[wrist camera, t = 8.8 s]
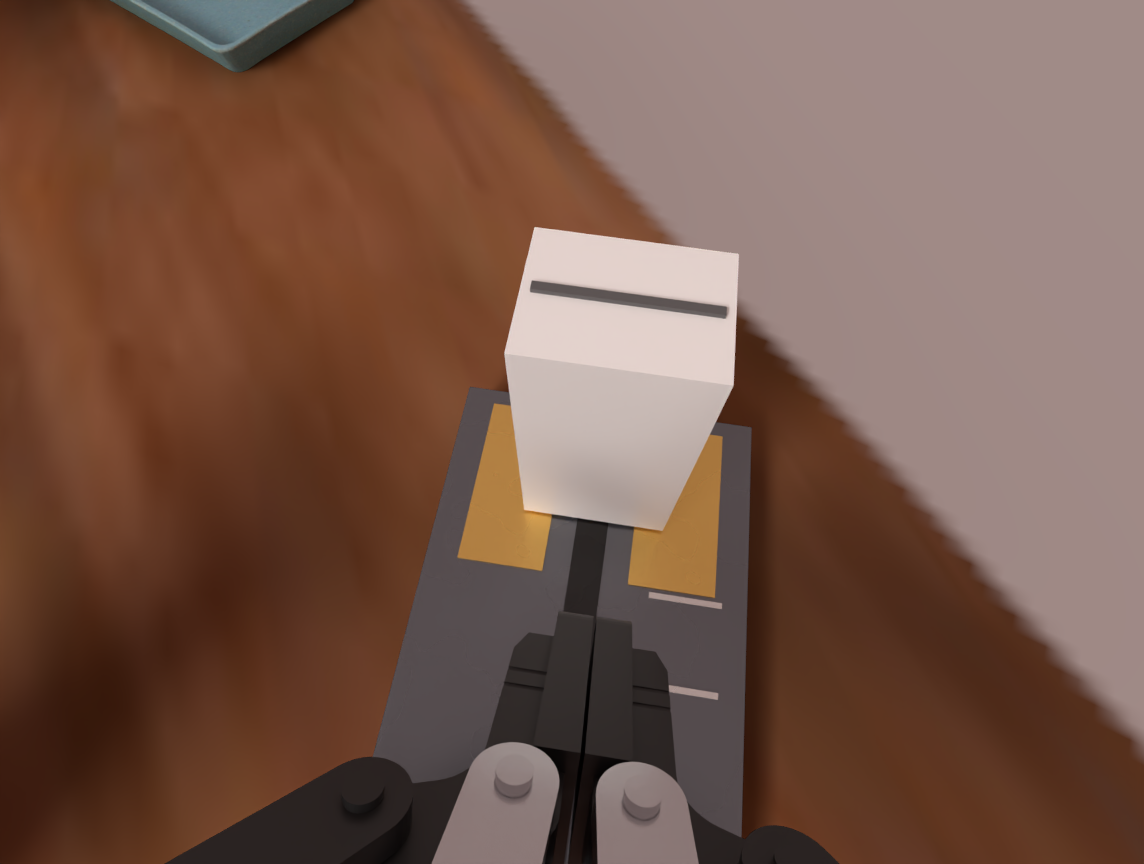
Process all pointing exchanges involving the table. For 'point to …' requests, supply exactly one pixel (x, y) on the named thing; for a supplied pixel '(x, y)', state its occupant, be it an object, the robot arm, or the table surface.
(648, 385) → the fader knob
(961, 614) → the table surface
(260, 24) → the rectangular tray
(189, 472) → the table surface
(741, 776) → the console
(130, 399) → the table surface
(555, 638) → the robot arm
